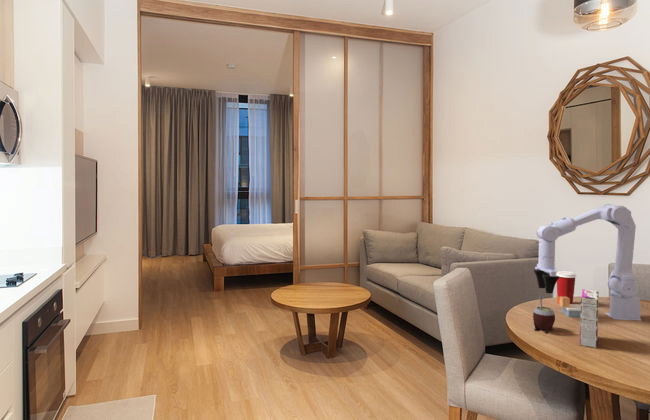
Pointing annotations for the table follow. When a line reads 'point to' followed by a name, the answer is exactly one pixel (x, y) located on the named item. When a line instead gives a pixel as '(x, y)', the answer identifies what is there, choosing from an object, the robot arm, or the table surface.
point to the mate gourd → (543, 317)
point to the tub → (571, 313)
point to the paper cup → (565, 285)
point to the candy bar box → (589, 318)
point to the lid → (566, 304)
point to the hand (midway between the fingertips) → (545, 290)
